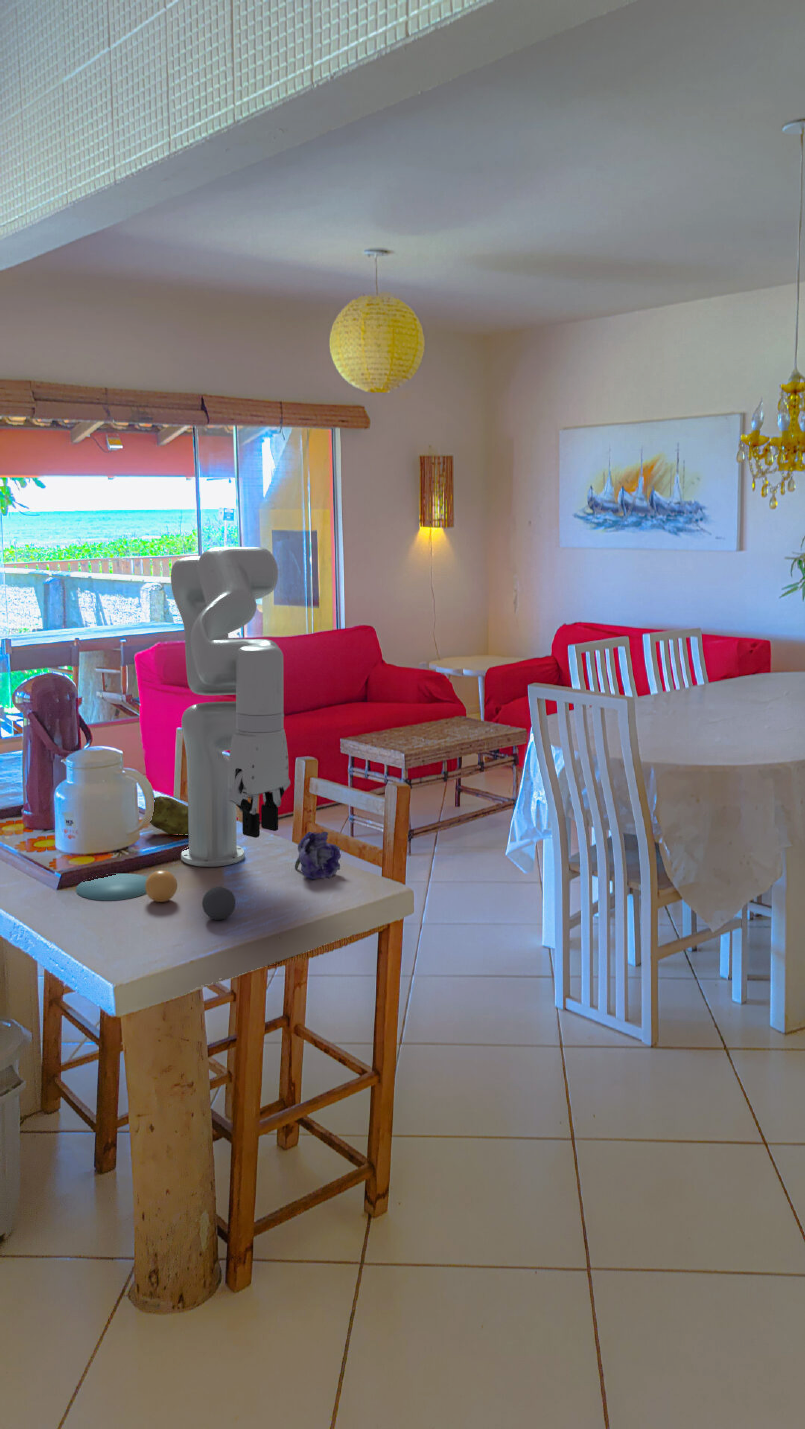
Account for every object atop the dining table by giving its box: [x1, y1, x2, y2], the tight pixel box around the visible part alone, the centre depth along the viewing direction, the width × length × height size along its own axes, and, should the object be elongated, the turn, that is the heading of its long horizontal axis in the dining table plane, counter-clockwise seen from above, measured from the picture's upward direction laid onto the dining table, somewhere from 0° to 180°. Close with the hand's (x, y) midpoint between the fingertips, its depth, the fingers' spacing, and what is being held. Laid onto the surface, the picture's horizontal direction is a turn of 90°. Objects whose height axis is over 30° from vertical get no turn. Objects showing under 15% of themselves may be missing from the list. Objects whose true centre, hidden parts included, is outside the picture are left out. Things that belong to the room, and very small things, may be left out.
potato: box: [149, 795, 188, 835], centre depth 230 cm, size 8×13×8 cm, turn 72°
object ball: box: [145, 869, 178, 903], centre depth 190 cm, size 6×6×6 cm
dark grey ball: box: [201, 886, 236, 921], centre depth 183 cm, size 6×6×6 cm
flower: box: [294, 831, 341, 880], centre depth 206 cm, size 9×9×10 cm
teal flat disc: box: [75, 873, 149, 902], centre depth 197 cm, size 14×14×1 cm
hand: (260, 831), depth 175 cm, fingers open, 3 cm apart
